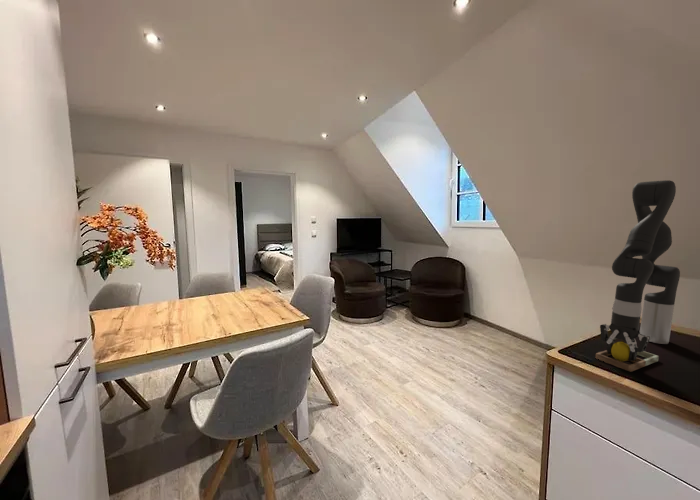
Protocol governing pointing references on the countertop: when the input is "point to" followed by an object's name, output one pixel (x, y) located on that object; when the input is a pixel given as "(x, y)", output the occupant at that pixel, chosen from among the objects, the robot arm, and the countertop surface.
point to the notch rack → (637, 363)
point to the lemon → (620, 351)
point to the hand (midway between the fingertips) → (620, 356)
